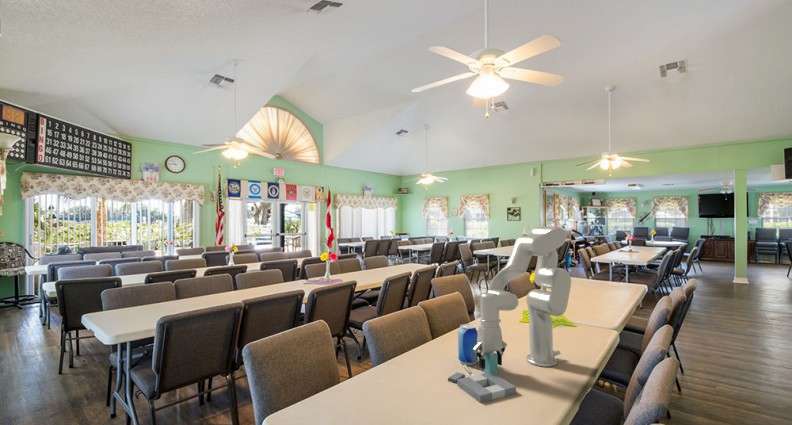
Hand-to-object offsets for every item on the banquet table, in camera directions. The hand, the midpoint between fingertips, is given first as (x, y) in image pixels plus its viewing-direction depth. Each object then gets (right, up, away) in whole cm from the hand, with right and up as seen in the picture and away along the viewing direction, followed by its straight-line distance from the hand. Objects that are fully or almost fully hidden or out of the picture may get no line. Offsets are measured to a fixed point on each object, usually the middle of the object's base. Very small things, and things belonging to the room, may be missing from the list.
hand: (490, 365), depth 146 cm
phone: (-15, -3, -6) cm, 16 cm away
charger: (0, -3, 0) cm, 3 cm away
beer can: (-7, -3, +11) cm, 13 cm away
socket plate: (-6, -2, -15) cm, 16 cm away
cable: (-9, -3, 0) cm, 9 cm away
